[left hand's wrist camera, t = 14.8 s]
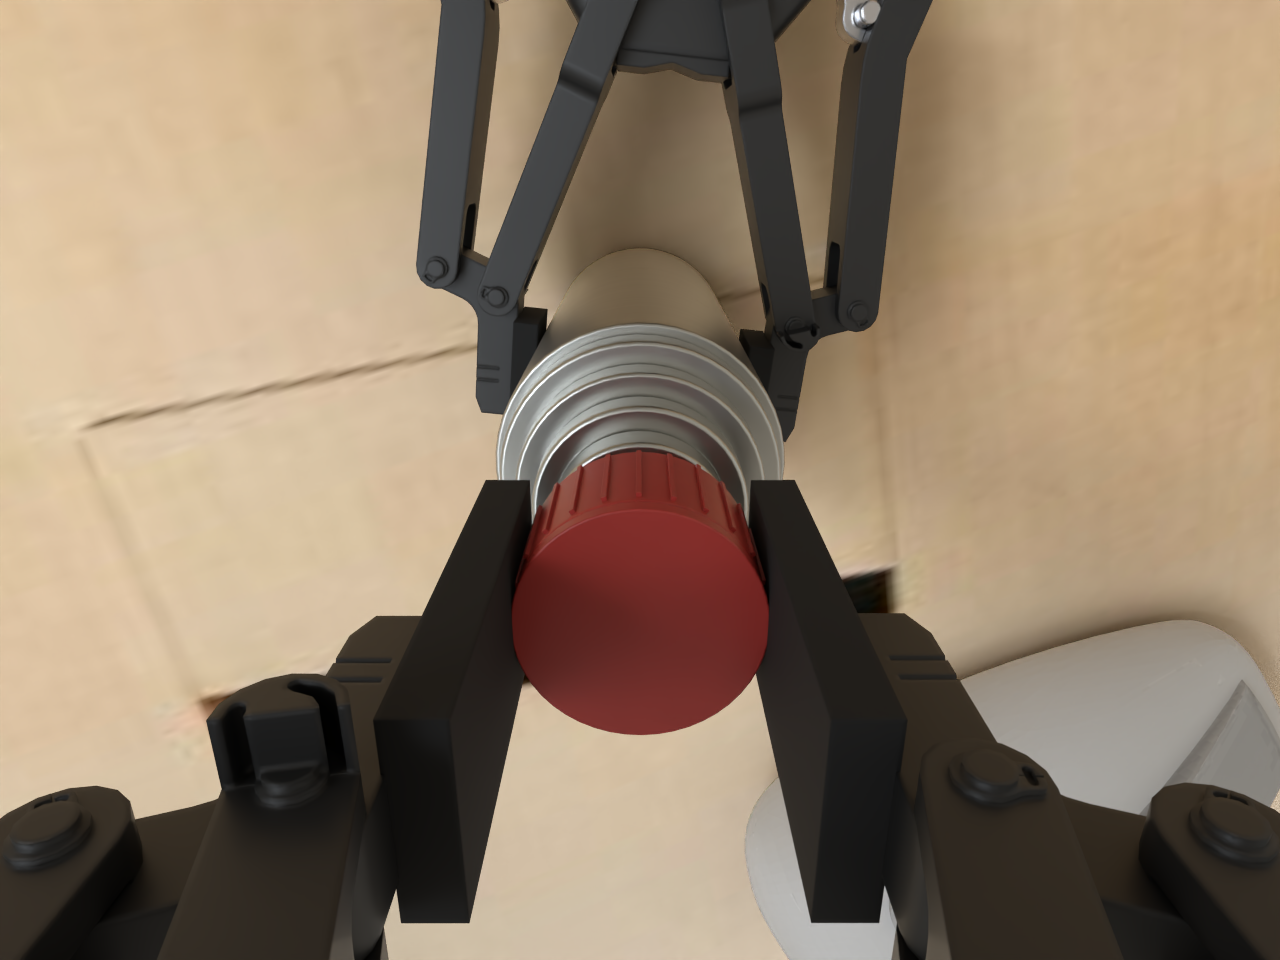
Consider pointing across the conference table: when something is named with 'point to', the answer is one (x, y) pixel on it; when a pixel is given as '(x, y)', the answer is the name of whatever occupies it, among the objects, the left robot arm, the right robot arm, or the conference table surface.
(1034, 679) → the projector
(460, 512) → the conference table surface
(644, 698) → the cap
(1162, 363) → the conference table surface
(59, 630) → the conference table surface
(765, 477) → the bottle
